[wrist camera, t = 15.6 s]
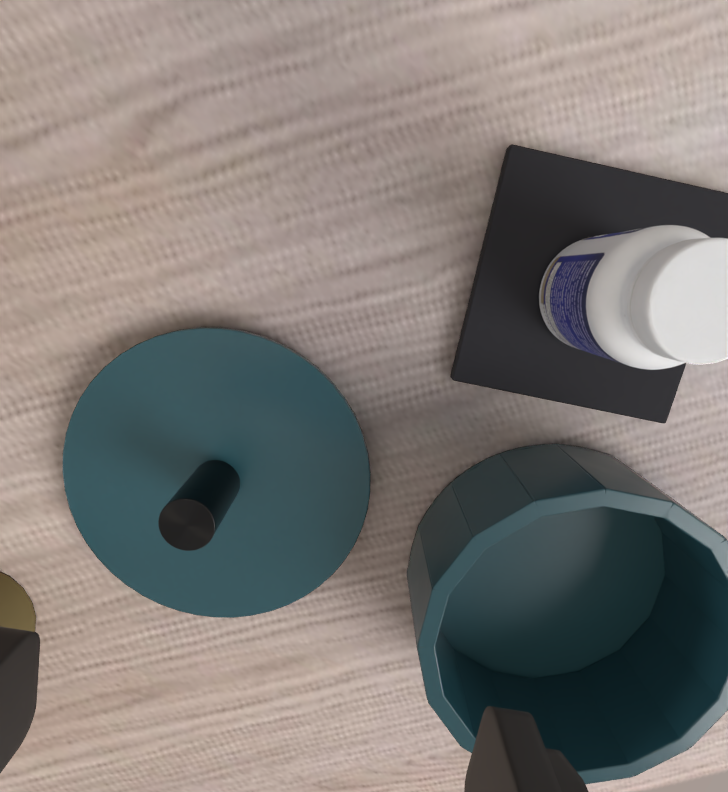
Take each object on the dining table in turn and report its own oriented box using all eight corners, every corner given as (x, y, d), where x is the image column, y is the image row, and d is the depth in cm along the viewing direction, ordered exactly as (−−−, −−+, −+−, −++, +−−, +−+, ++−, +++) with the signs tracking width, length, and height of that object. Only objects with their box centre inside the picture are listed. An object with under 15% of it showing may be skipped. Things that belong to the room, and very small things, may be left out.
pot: (443, 419, 28) (465, 460, 22) (713, 473, 28) (809, 528, 22) (383, 659, 31) (388, 755, 25) (627, 703, 32) (690, 807, 26)
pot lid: (87, 296, 26) (11, 303, 21) (399, 360, 27) (408, 384, 21) (61, 577, 30) (-11, 650, 24) (339, 628, 31) (333, 710, 25)
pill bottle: (579, 371, 26) (684, 418, 18) (514, 287, 26) (591, 295, 17) (670, 299, 26) (826, 312, 17) (607, 211, 25) (737, 177, 16)
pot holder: (506, 147, 25) (511, 143, 24) (732, 198, 25) (744, 196, 25) (449, 377, 27) (452, 380, 27) (657, 420, 28) (666, 424, 27)
